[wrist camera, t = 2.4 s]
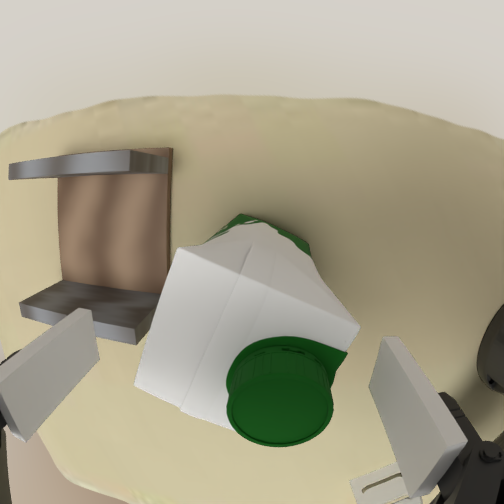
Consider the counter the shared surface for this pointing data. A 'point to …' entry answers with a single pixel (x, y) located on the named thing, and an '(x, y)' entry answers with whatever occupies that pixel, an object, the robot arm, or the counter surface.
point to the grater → (382, 487)
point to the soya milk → (248, 335)
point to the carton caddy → (107, 238)
